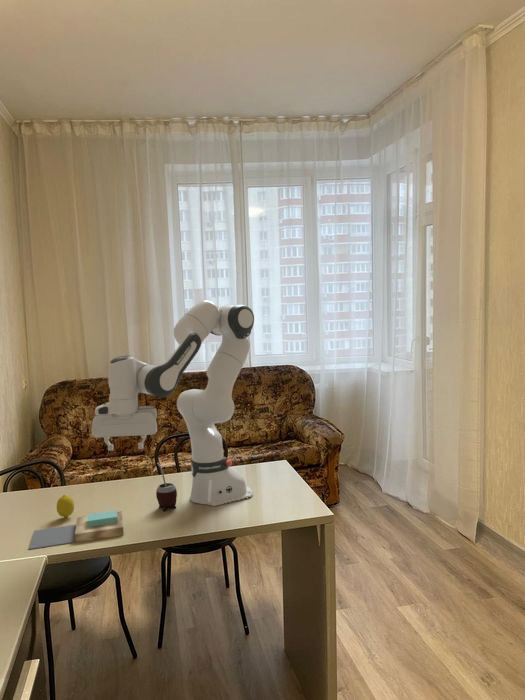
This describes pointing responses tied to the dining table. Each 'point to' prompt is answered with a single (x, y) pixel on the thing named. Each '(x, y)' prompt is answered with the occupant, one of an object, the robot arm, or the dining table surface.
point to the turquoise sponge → (102, 518)
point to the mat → (53, 537)
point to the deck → (97, 529)
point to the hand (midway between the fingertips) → (125, 449)
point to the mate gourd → (166, 494)
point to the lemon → (65, 506)
